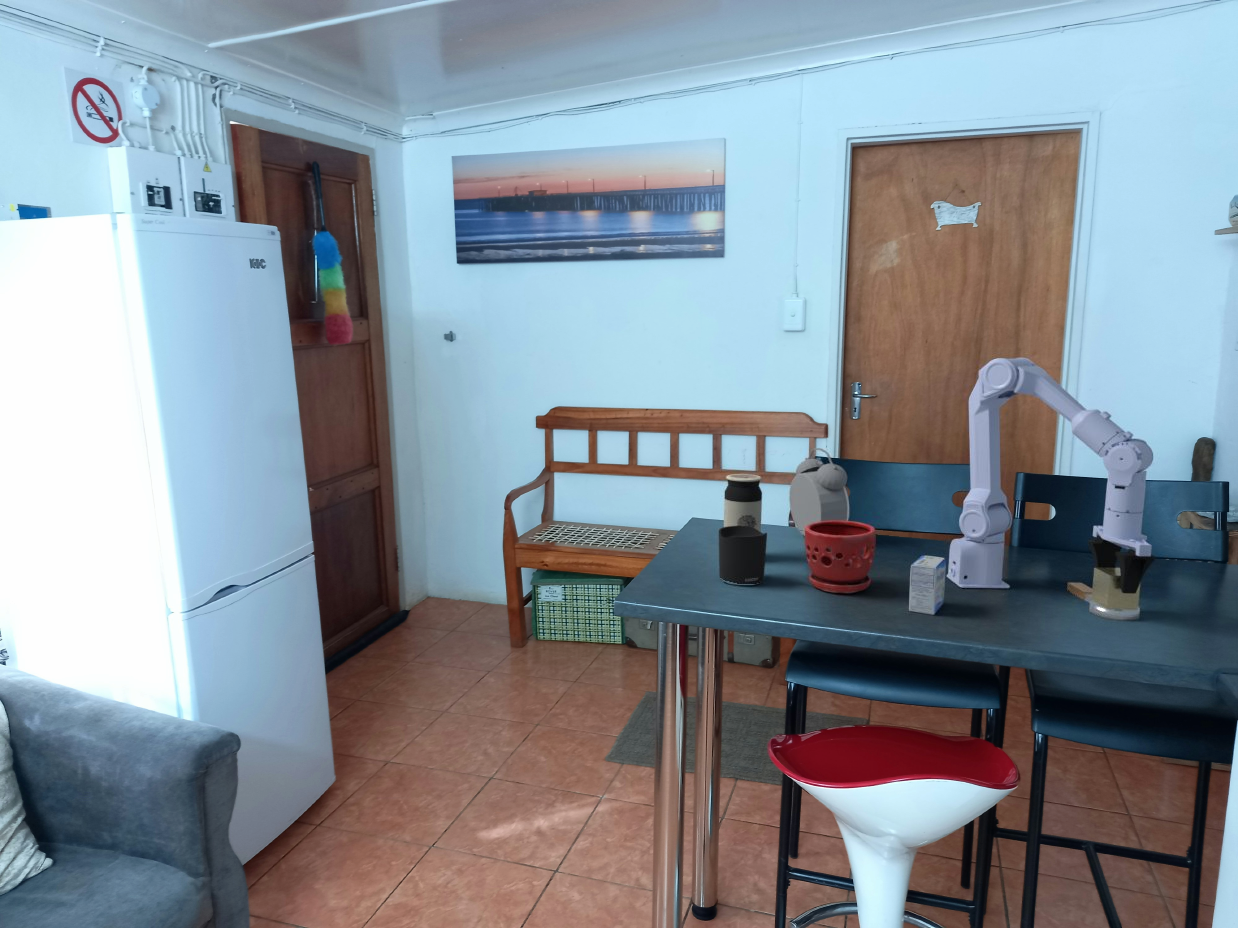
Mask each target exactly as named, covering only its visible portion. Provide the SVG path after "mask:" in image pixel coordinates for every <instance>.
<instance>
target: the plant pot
mask: <svg viewBox="0 0 1238 928" xmlns="http://www.w3.org/2000/svg"><path fill="white" fill-rule="evenodd" d="M876 538H877V537H876V529H875V527H874V526H872V525H870V524H866V523H864V522H860V521H859V522H858V521H850V520H848V521H834V520H833V521H821V522H815V523H812V524H809V525H807V526H806V527H805V536H804V547H805V555H806V556H805V557H806V560H807V563H808V567H809V568H810V569H809V570H810V571H811V573H809V575H808V580H809V582H810V584H812V586H814V587H815V588H817V589H819V590H821V591H824V592H828V593H835V594H848V595H851V594H852V593H853V594H854V593H860V592H862V591H864V590H866V589H867V588H868V587H869V586H870V585H871V583H872V579H871V577H870V575H868V574H869V572H870V570H871V568H872V565H873V563H874V559H875V552H876V541H877V539H876ZM862 553H863V554H862Z"/></svg>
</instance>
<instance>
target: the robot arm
mask: <svg viewBox="0 0 1238 928" xmlns="http://www.w3.org/2000/svg"><path fill="white" fill-rule="evenodd" d="M1018 394H1020V395H1027V396H1028V395H1029V396H1035V397H1036V398H1038V399H1039V400H1040V401H1042V402H1044V404H1046V405H1047V406H1048V407H1049V408H1051V409H1052V410H1053V411H1055V412H1056V413H1058V414H1059V415H1061V416H1062V417H1063V418H1065V420H1067V421H1069V422H1070V424H1071V432H1072V434H1073V435H1074V436H1075V437H1076V438H1077V439H1079V440H1080V441H1081V442H1082V443H1083V444H1085V445H1086V447H1088V448H1089V449H1090V450H1091V451H1093V452H1094V453H1095V454H1096V455H1097V456H1098V457H1100V458H1102V462H1103V465H1104V468H1105V469H1106V470H1107V472H1108V474H1107V483H1106V490H1105V491H1106V493H1105V503H1104V512H1103V522H1102V523H1103V524H1102V525H1093V531H1092V536H1093V537H1094V539H1088V540H1087V545H1088V547H1089V549H1090V551H1091V554H1092V557H1093V560H1094V565H1095V567H1097V568H1116V564H1117V562H1118V566H1119V568H1120V573H1121V591H1122V593H1131V594H1136V592H1137V589H1138V587H1139V585H1140V586H1141V582H1142V580H1143V577H1144V575H1145V574H1146V571H1147V570H1149V568H1150V567H1151V565H1152V564H1153V563H1154V562H1155V560H1156V555H1153V554H1152V549H1153V547H1152V544H1151V543H1148V542H1147V540H1148V536H1147V535H1144V534H1143V533H1142V527H1143V517H1144V515H1143V514H1144V509H1145V508H1144V506H1145V494H1146V481H1147V469H1149V468H1150V466H1151V465H1152V464H1153V461H1154V452H1153V450H1152V448H1151V447H1150V446H1149V444H1148V443H1147V441H1146V440H1144V439H1141V438H1133V437H1134V434H1133V432H1131V431H1129V430H1128V431H1125V430H1124V429H1123V428H1121V427H1120V426H1119V425H1118V424H1117V423H1115V422H1114V421H1113V420H1111V418H1112V415H1111V414H1110V413H1109V412H1108V411H1100V410H1099V409H1098V408H1097V409H1095V408H1094V409H1086V407H1084V406H1083V405H1082V404H1081V403H1080V402H1079V401H1078V400H1076V399H1075V397H1073V395H1071V394H1070V393H1069V392H1068V391H1067V390H1066V389H1065V388H1064V387H1063V386H1062V385H1060V383H1058V382H1057V381H1056V380H1055V379H1054V378H1052V377H1051V376H1050V375H1049V374H1048V373H1047V371H1046V370H1045V369H1044V368H1042V367H1041V366H1039V365H1036V364H1035V362H1034V361H1032V360H1031V359H1029V358H1026V357H1016V358H1004V357H998V358H994V359H992V360H990V361H989V362H987V363H986V364H985V365H984V366H982V368H981V369H979V370H978V378H977V380H976V383H975V385H974V387H973V389H972V391H971V393H970V395H969V398H968V426H969V427H968V428H969V429H968V431H969V438H968V439H969V472H970V473H969V475H970V476H969V477H970V489H969V492H968V494H967V495H966V497H965V499H964V500H963V502H962V503H963V504H962V505H963V506H962V507H963V509H962V512H961V514H960V516H959V521H958V525H959V529H960V531H961V533H962V534H963V535H964V536H963V537H962V538H954V539H952V541H950V542H951V543H950V545H949V556H948V568H947V569H948V571H947V572H948V573H947V574H946V578H948V579H949V580H950V581H952V582H953V583H954V584H956V585H957V586H958V587H960V588H961V589H962V588H965V589H967V588H968V589H969V588H970V589H1009V588H1010V587H1011V585H1009V584H1008V583H1007V582H1005V581H1004V580H1003V569H1004V568H1003V567H1004V566H1003V565H1004V554H1005V553H1004V552H1005V542H1006V541H1005V532H1006V533H1007V531H1008V530H1010V528H1011V526H1012V523H1013V515H1012V512H1011V511H1010V508H1009V506H1008V498H1007V496H1006V494H1005V493H1004V492H1003V490H1002V488H1001V481H1002V480H1001V477H1002V476H1001V446H1000V445H1001V440H1000V439H1001V438H1000V436H1001V433H1000V408H1001V407H1002V406H1003V405H1005V404H1006V403H1007V402H1008V401H1009V400H1010V399H1011V398H1013V397H1014V396H1016V395H1018ZM1122 549H1126V550H1127V551H1122Z"/></svg>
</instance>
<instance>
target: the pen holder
mask: <svg viewBox="0 0 1238 928" xmlns="http://www.w3.org/2000/svg"><path fill="white" fill-rule="evenodd" d="M767 538H768V532H764V533H763V532H762V531H761V532H760V531H758V530H757V529H755V528H753V527H749V526H728V527H724V526H723V527H721V528H719V529H718V566H719V569H718V570H719V571H718V573H719V574H718V575H719V579H720V578H722V579H723V580H725V581H729V582H733V583H737V584H757V583H760V582H762V583H763V581H764V578H765V568H766V556H767V555H766V553H767ZM760 584H761V583H760Z"/></svg>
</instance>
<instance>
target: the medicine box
mask: <svg viewBox="0 0 1238 928" xmlns="http://www.w3.org/2000/svg"><path fill="white" fill-rule="evenodd" d="M946 563H947V558H945V557H940V556H933V555H921V556H920V557H919V558H917V560H916V561H914V562H913V563H912V564H911V565H910V573H909V574H910V576H909V596H908V597H909V599H908V600H909V601H908V611H909V612H912V613H917V614H923V615H931V616H935V614H936V613H937V612H938V611H939V609H940V608H941V607H942V605H944V601H945V585H946V582H945V581H946V569H947V567H946V566H947V565H946Z"/></svg>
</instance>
